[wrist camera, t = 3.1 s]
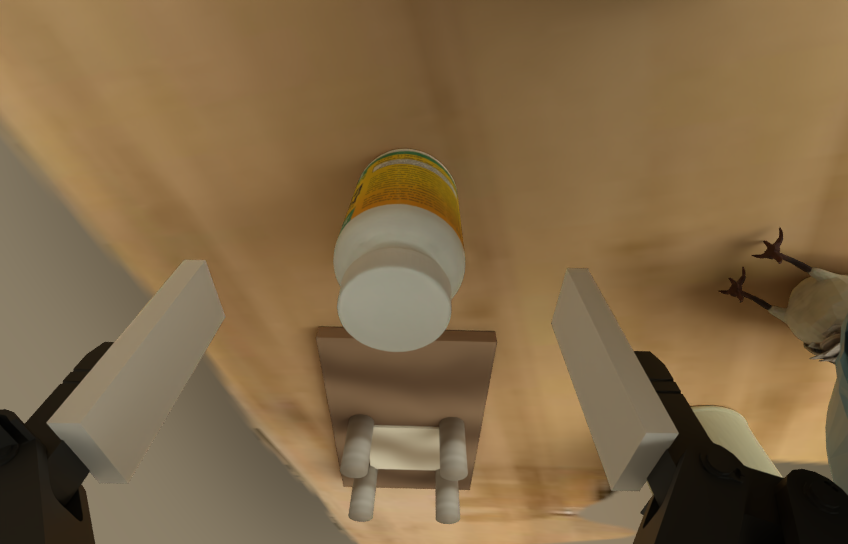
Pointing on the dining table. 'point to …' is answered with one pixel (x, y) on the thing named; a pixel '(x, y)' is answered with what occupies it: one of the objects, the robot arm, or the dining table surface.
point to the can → (734, 437)
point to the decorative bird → (807, 305)
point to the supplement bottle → (400, 253)
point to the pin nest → (407, 414)
